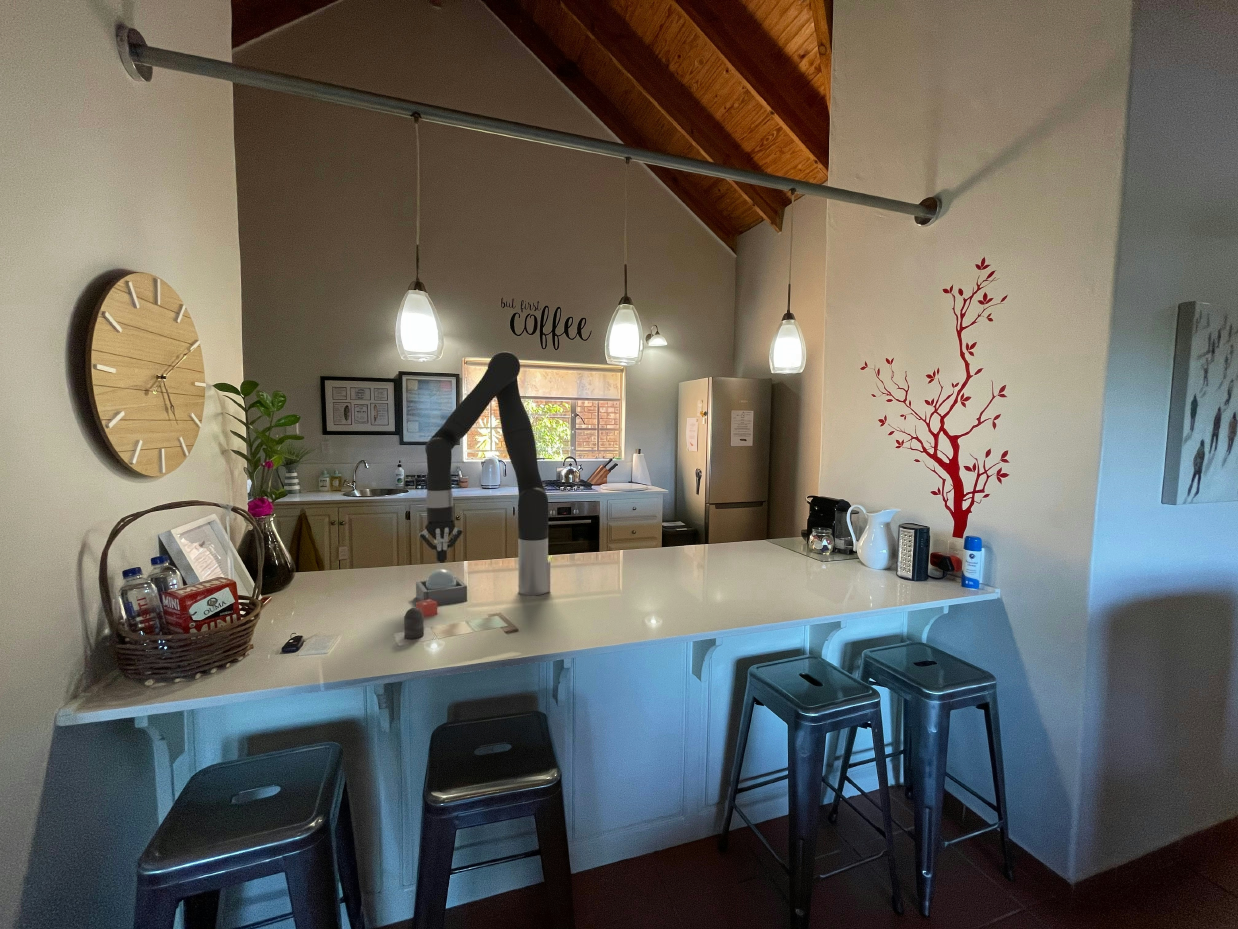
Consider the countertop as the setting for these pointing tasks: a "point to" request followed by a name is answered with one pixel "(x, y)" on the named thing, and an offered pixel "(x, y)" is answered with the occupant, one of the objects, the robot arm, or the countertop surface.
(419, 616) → the dark grey capsule
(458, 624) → the game board
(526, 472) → the robot arm
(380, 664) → the countertop surface
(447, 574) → the dome
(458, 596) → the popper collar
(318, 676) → the countertop surface
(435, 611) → the red die
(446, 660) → the countertop surface
